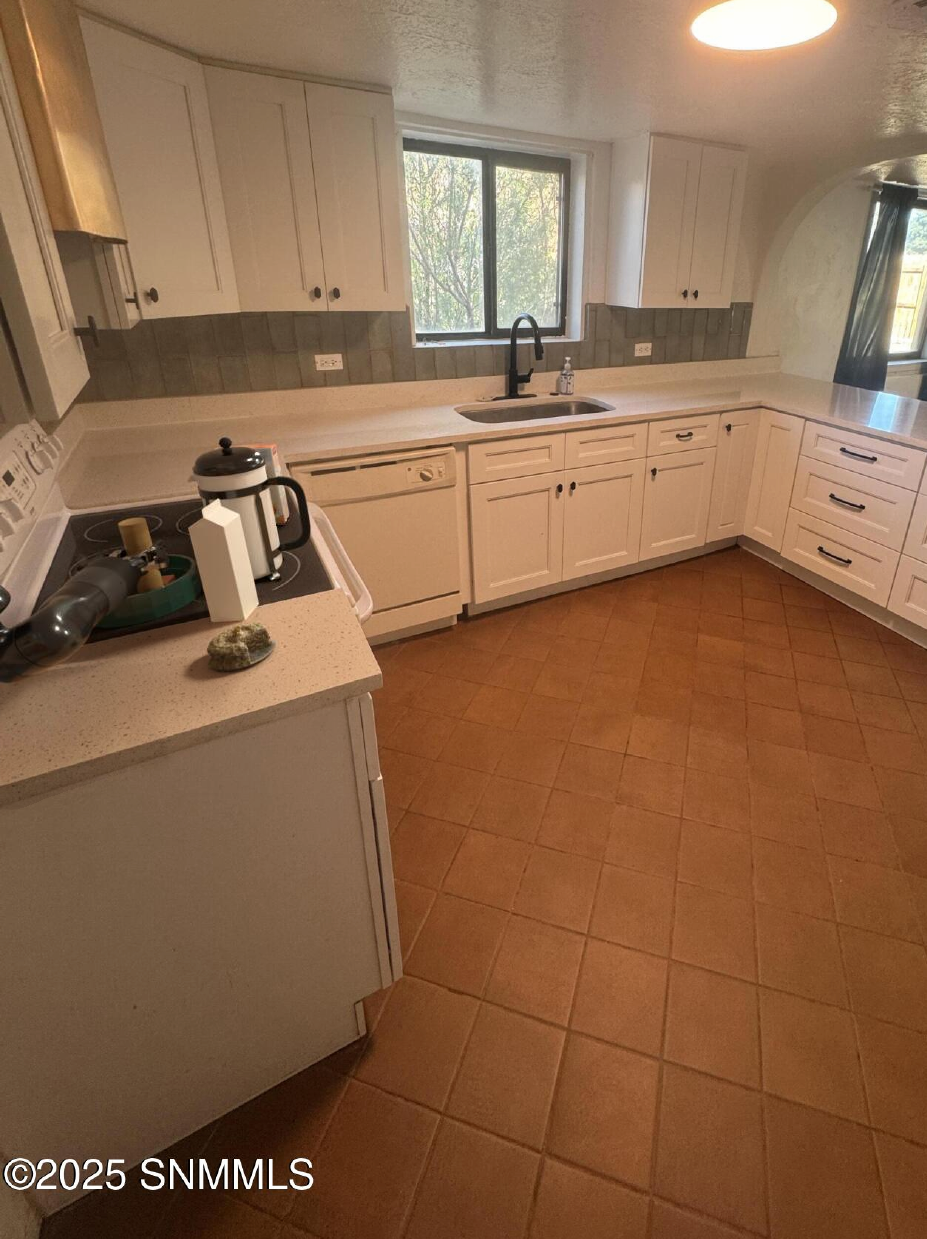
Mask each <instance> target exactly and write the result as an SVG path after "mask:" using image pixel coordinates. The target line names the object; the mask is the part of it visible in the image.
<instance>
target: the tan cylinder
mask: <svg viewBox="0 0 927 1239" xmlns="http://www.w3.org/2000/svg"><path fill="white" fill-rule="evenodd" d="M117 526H118V529H119V532H120V536H121V539H122V542H123V547H125V549H126V552H127V556H131V555H132V554H134V553H136V552H138V551H145V550H147V549H148V548H149V547H150V546H152V545H153V544H154V543H153V541H152V537H151V534H150V530H149V527H148V523H147V519H146V518H145V517H131V518H127V519H124V520H121V521H120V522H118V524H117ZM149 558H150V554H149ZM150 559H151V558H150ZM163 586H164V584H163V580H162V577H161V573H160V572H159V570H156V569H154V570H149V572H148V573H147V574H146V575H144V576H142V577H140V579H139V582H138V584H137V590H138V593H139V594H141V593H145V592H148V591H151V590H154V589H157V588H160V587H163Z"/></svg>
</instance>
